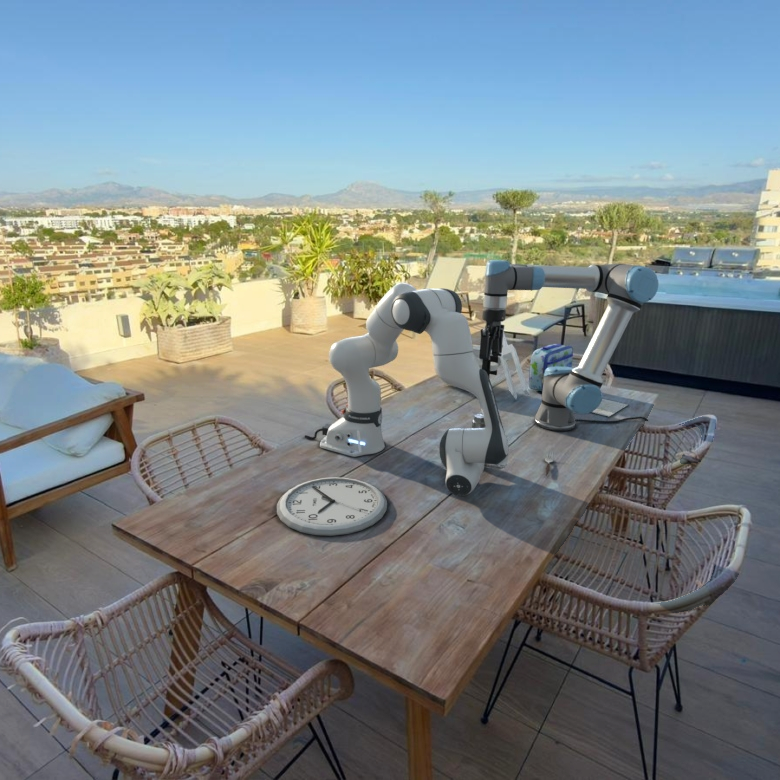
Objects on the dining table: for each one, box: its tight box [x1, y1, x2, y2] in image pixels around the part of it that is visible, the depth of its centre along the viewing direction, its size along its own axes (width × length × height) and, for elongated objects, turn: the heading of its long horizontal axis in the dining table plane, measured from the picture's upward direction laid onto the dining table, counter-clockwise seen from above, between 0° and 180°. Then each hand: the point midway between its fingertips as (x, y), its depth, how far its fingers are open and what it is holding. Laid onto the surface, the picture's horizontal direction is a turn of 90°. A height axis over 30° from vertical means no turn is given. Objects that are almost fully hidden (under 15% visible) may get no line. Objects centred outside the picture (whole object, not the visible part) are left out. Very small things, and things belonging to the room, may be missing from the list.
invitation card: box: [591, 398, 629, 418], centre depth 226 cm, size 21×1×15 cm
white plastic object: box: [441, 323, 531, 400], centre depth 245 cm, size 37×45×31 cm
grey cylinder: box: [471, 413, 486, 428], centre depth 166 cm, size 5×5×17 cm
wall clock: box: [276, 476, 388, 537], centre depth 142 cm, size 30×2×30 cm
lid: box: [490, 362, 499, 371], centre depth 178 cm, size 5×5×2 cm
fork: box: [544, 451, 555, 476], centre depth 168 cm, size 3×16×2 cm, turn 160°
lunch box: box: [528, 343, 574, 392], centre depth 248 cm, size 26×11×21 cm, turn 134°
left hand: (478, 445), depth 168 cm, fingers closed on grey cylinder, 5 cm apart
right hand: (489, 376), depth 179 cm, fingers closed on lid, 5 cm apart
